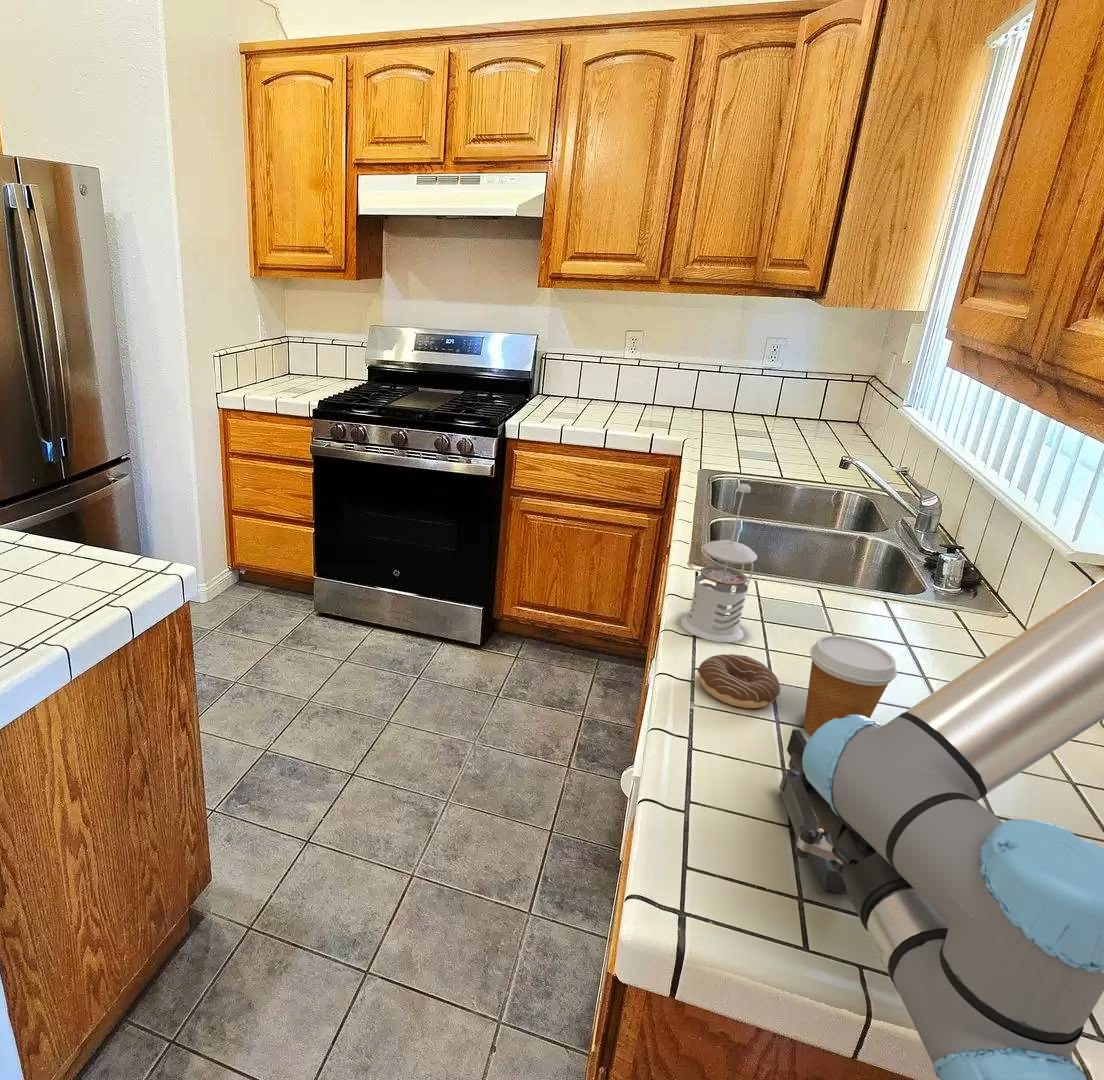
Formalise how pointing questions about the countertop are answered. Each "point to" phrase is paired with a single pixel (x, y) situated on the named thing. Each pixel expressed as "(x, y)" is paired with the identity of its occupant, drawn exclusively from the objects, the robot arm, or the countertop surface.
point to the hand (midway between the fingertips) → (811, 742)
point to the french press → (721, 590)
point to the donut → (739, 680)
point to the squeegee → (824, 863)
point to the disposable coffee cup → (845, 679)
